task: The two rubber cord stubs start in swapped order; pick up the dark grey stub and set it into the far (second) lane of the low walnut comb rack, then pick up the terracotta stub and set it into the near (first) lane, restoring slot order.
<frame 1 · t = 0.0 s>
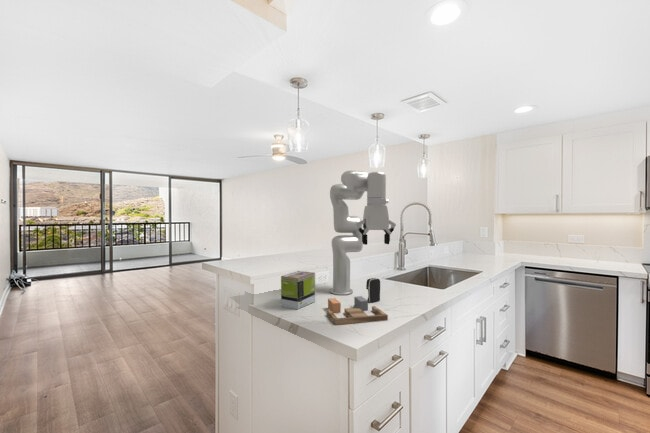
hand: (376, 244, 123), 31 cm above the worktop, fingers open, 9 cm apart
comb rack: (356, 317, 126), on the worktop
battery charger: (372, 301, 150), on the worktop
grey stub: (360, 308, 139), on the worktop
tea box: (298, 304, 144), on the worktop
terracotta stub: (334, 310, 135), on the worktop
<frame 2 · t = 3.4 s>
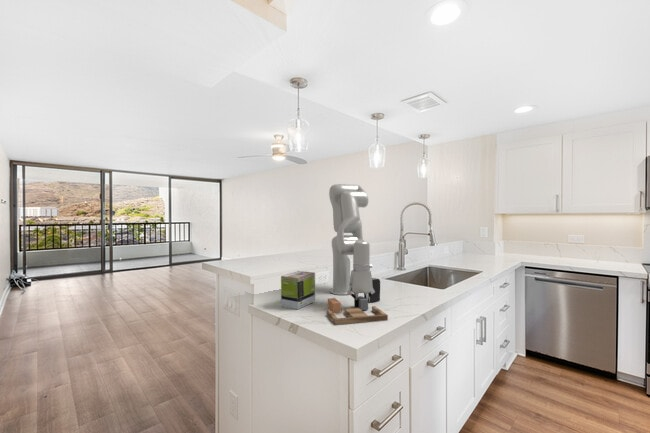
hand: (361, 307, 138), 0 cm above the worktop, fingers closed on grey stub, 3 cm apart
grey stub: (361, 307, 138), on the worktop, touching gripper
everything else where it was.
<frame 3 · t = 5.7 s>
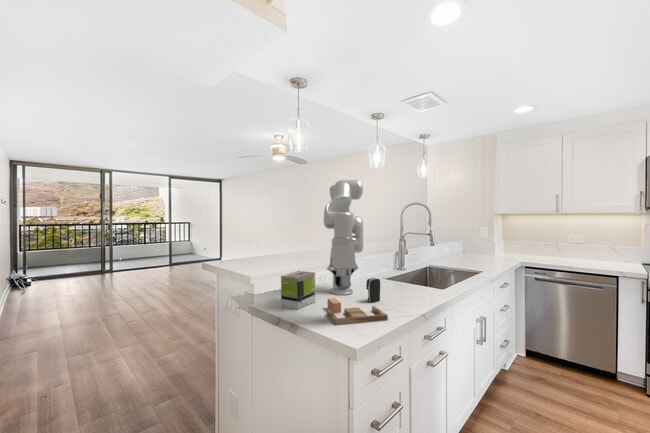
hand: (342, 284, 125), 14 cm above the worktop, fingers closed on grey stub, 3 cm apart
grey stub: (344, 288, 124), point 13 cm above the worktop, tilted 26°, touching gripper
everything else where it was.
when the fingers open (3 cm above the worktop, at t = 8.1 s): grey stub stays where it is, resting on comb rack.
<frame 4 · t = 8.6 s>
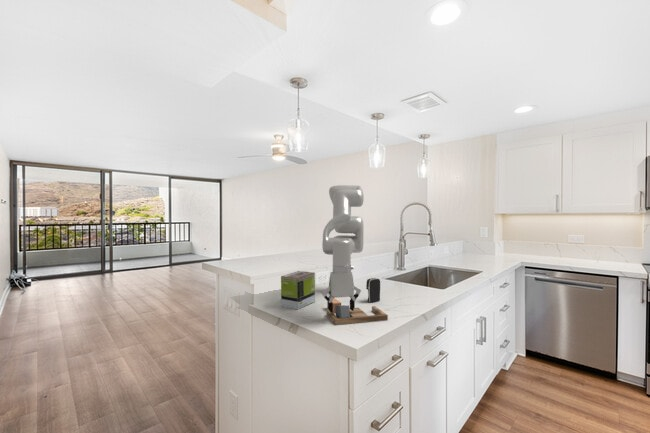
hand: (341, 310, 125), 3 cm above the worktop, fingers open, 8 cm apart
grey stub: (342, 317, 123), point 1 cm above the worktop, tilted 16°, touching comb rack
everything else where it was.
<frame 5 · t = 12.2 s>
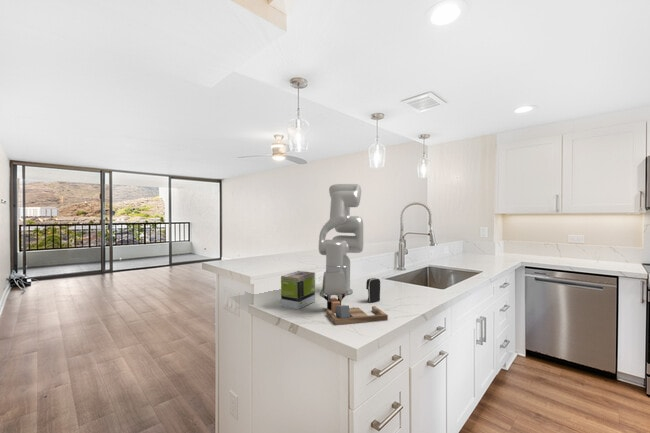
hand: (334, 309, 135), 0 cm above the worktop, fingers closed on terracotta stub, 3 cm apart
terracotta stub: (334, 310, 135), on the worktop, touching gripper
everything else where it was.
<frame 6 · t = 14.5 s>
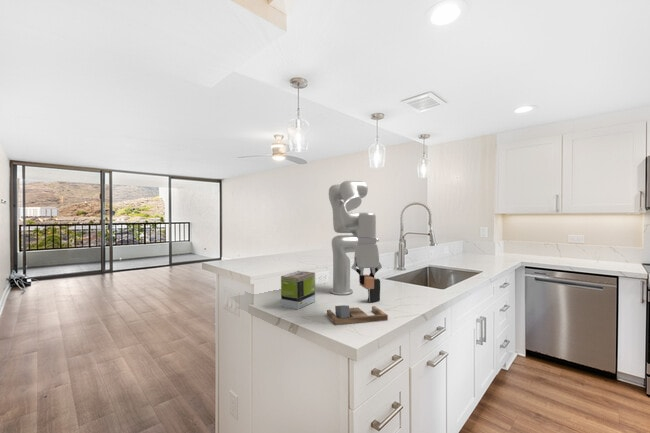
hand: (366, 283, 129), 14 cm above the worktop, fingers closed on terracotta stub, 3 cm apart
terracotta stub: (366, 286, 129), point 12 cm above the worktop, touching gripper
everything else where it was.
when the fingers open (2 cm above the worktop, at t = 17.0 s): terracotta stub drops 2 cm, resting in comb rack.
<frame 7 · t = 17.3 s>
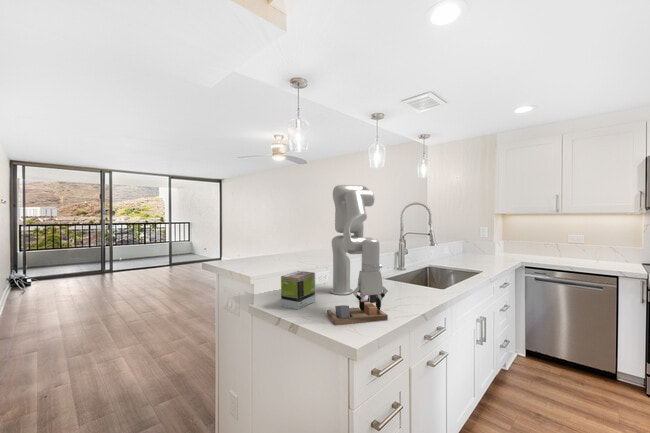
hand: (370, 309, 128), 3 cm above the worktop, fingers open, 6 cm apart
terracotta stub: (369, 315, 129), resting in comb rack
everything else where it was.
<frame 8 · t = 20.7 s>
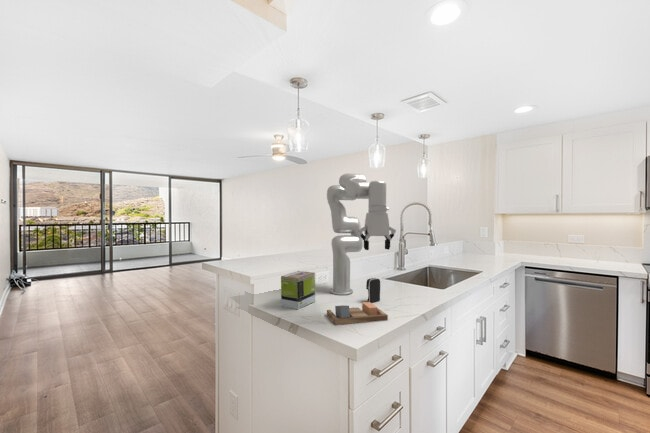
hand: (377, 249, 129), 28 cm above the worktop, fingers open, 9 cm apart
nothing on the worktop moved.
at the end: terracotta stub inside the target area (1.3 cm from its centre), resting in comb rack; grey stub inside the target area (1.7 cm from its centre), point 1.1 cm above the worktop; the gripper is holding nothing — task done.
